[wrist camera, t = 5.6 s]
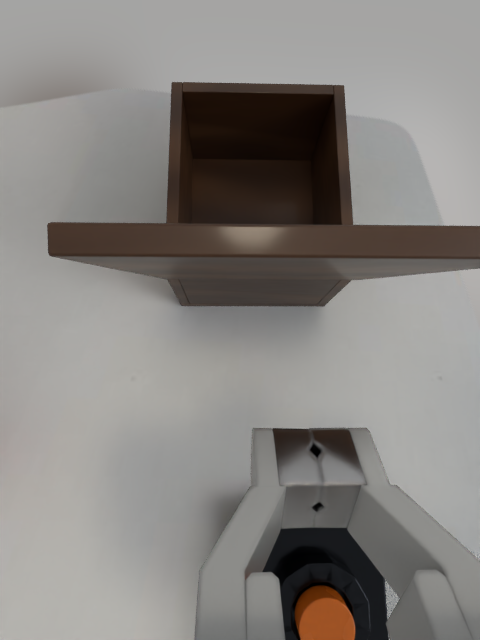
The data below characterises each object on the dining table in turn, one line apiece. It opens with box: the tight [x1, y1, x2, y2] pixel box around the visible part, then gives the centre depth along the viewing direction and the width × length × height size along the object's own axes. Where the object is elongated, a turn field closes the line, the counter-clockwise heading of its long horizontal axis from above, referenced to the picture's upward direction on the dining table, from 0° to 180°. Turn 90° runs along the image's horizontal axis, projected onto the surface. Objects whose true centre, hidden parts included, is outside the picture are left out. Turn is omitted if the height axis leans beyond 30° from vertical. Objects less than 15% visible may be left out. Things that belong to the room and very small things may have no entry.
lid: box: [47, 222, 480, 280], centre depth 17 cm, size 15×13×1 cm
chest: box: [166, 82, 353, 306], centre depth 31 cm, size 15×13×9 cm
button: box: [295, 585, 355, 640], centre depth 25 cm, size 4×4×2 cm
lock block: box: [262, 527, 389, 640], centre depth 27 cm, size 12×10×4 cm
